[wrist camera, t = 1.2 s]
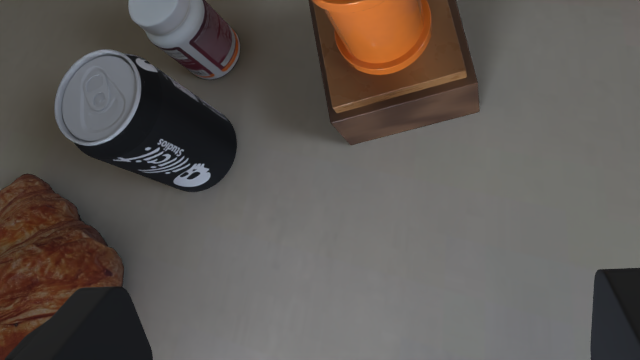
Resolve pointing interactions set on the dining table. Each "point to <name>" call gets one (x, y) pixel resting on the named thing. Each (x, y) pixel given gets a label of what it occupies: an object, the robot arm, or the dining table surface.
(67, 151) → the dining table surface
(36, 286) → the pastry
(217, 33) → the pill bottle
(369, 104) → the wooden box
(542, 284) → the dining table surface
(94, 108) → the beverage can
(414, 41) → the spool
